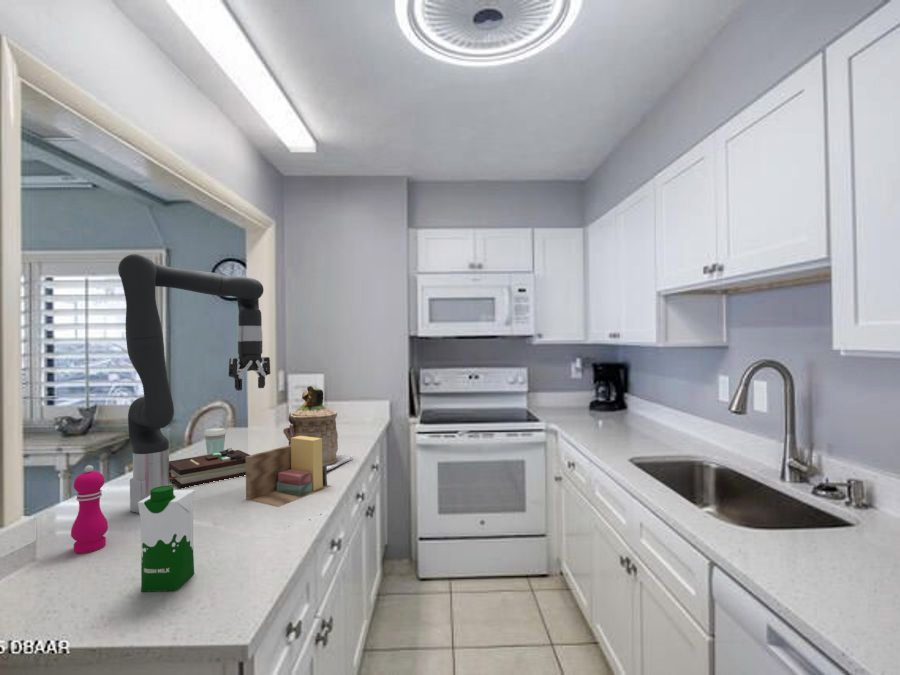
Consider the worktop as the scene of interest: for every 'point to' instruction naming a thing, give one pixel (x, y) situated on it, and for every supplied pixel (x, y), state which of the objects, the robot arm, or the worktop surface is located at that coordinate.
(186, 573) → the milk carton
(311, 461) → the ochre book
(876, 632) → the worktop surface
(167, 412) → the robot arm
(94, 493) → the pepper mill
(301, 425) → the cookie jar
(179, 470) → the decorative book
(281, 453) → the shelf
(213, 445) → the coffee cup
